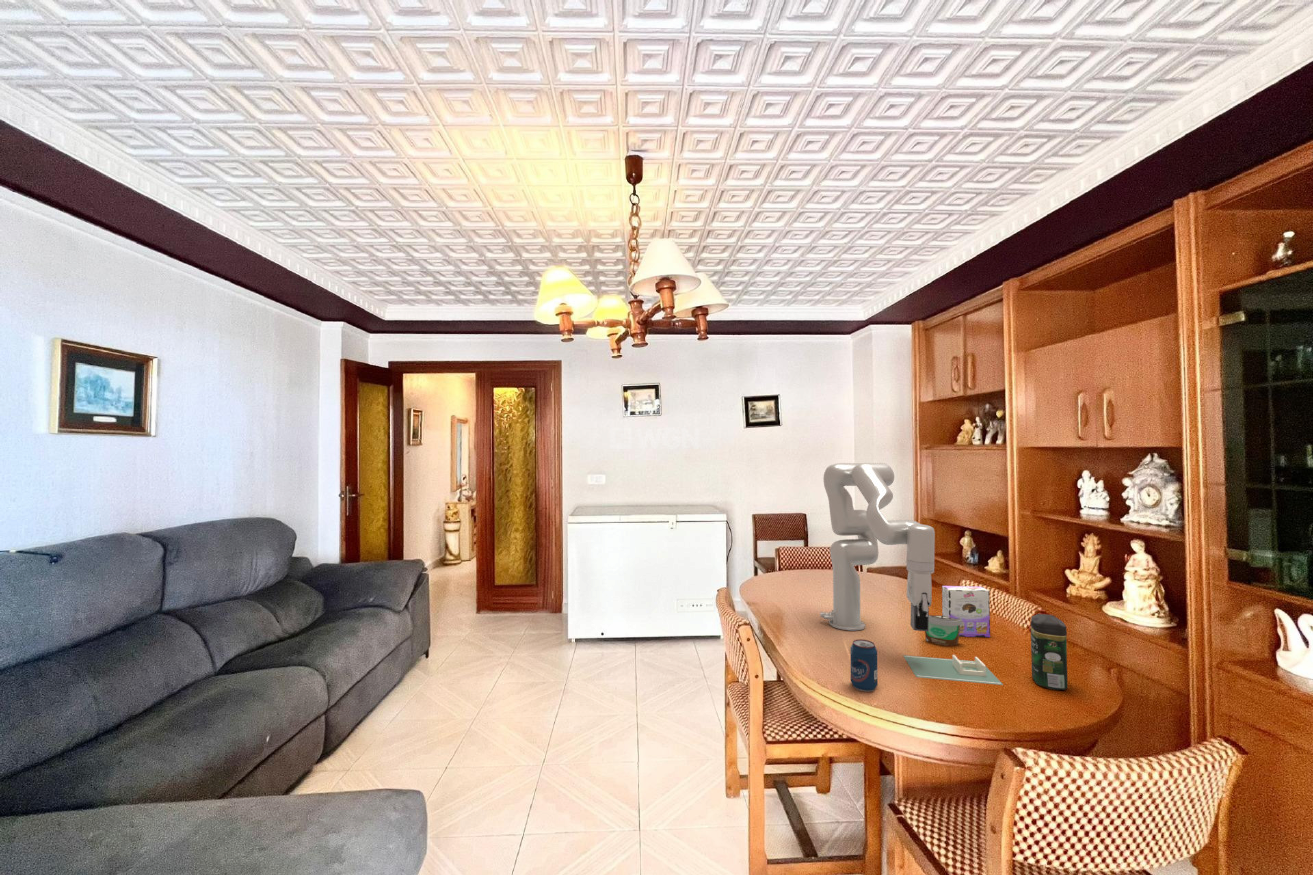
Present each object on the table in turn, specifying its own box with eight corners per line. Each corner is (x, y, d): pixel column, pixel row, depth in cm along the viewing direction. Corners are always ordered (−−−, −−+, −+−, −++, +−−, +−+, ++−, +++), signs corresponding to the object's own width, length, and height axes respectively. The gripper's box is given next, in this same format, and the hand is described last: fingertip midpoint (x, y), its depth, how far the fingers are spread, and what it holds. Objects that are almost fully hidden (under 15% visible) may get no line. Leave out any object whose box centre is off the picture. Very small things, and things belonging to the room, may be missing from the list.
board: (916, 681, 149) (916, 676, 149) (902, 659, 165) (902, 654, 165) (1003, 689, 144) (1003, 684, 144) (981, 665, 160) (981, 661, 160)
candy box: (982, 631, 189) (981, 585, 189) (990, 637, 183) (990, 590, 184) (941, 630, 190) (941, 584, 191) (949, 636, 185) (948, 589, 185)
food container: (920, 646, 175) (920, 616, 175) (921, 640, 180) (920, 611, 181) (963, 653, 169) (963, 622, 169) (962, 646, 175) (962, 616, 175)
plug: (913, 630, 158) (914, 605, 158) (910, 625, 162) (910, 601, 162) (928, 631, 157) (928, 606, 157) (924, 626, 161) (925, 602, 161)
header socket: (960, 674, 151) (960, 663, 151) (952, 665, 157) (952, 654, 157) (985, 676, 149) (985, 665, 149) (977, 667, 156) (977, 656, 156)
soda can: (846, 686, 145) (845, 642, 146) (857, 678, 150) (857, 636, 151) (871, 695, 141) (870, 649, 141) (881, 686, 145) (881, 643, 146)
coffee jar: (1028, 673, 154) (1028, 610, 154) (1062, 679, 150) (1061, 613, 151) (1034, 687, 145) (1034, 619, 146) (1070, 693, 142) (1069, 624, 142)
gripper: (900, 558, 168) (899, 615, 169) (913, 572, 152) (912, 635, 152) (926, 560, 167) (925, 617, 167) (942, 573, 151) (941, 637, 151)
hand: (919, 625), depth 160 cm, fingers closed on plug, 4 cm apart
